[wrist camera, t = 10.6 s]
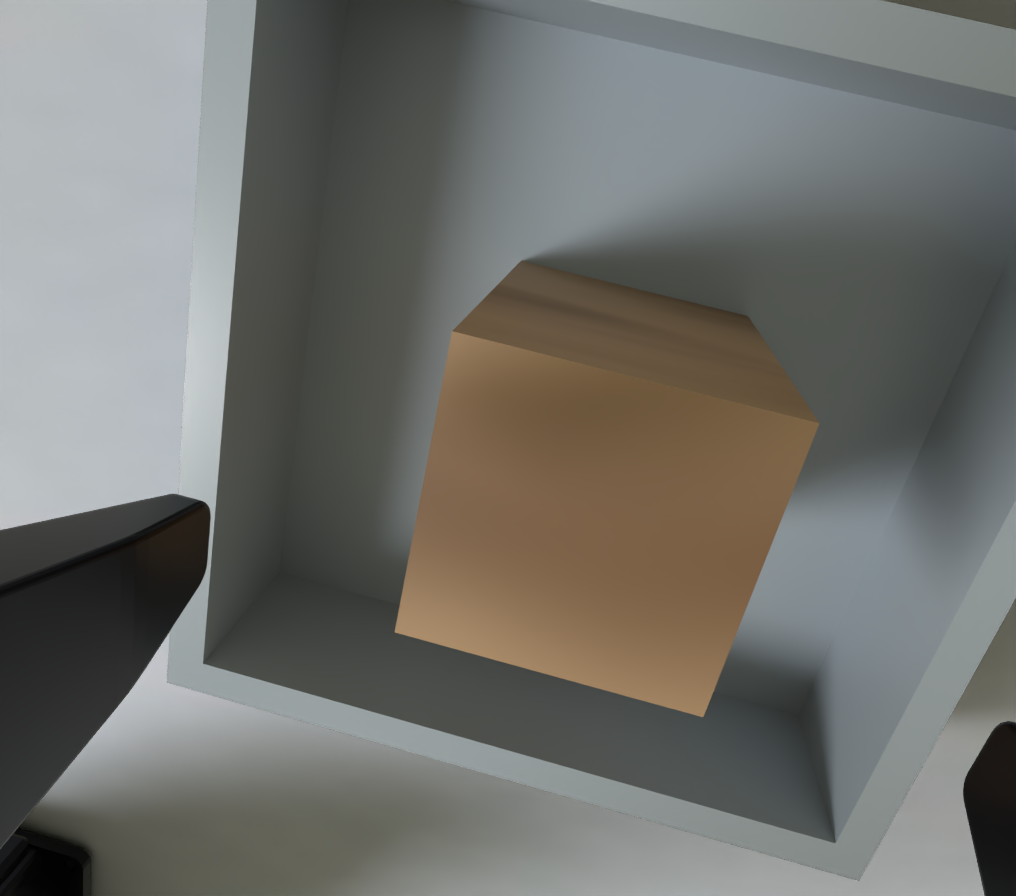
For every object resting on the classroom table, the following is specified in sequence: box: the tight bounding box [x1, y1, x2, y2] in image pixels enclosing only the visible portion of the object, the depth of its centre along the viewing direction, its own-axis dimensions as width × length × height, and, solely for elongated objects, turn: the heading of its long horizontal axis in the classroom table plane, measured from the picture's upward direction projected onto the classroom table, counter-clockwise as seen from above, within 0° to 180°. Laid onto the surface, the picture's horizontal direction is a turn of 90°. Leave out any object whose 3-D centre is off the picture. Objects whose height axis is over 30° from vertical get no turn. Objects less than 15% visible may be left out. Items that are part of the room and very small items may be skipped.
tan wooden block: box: [395, 261, 819, 717], centre depth 15 cm, size 5×5×7 cm
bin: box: [167, 0, 1016, 881], centre depth 16 cm, size 16×16×5 cm
